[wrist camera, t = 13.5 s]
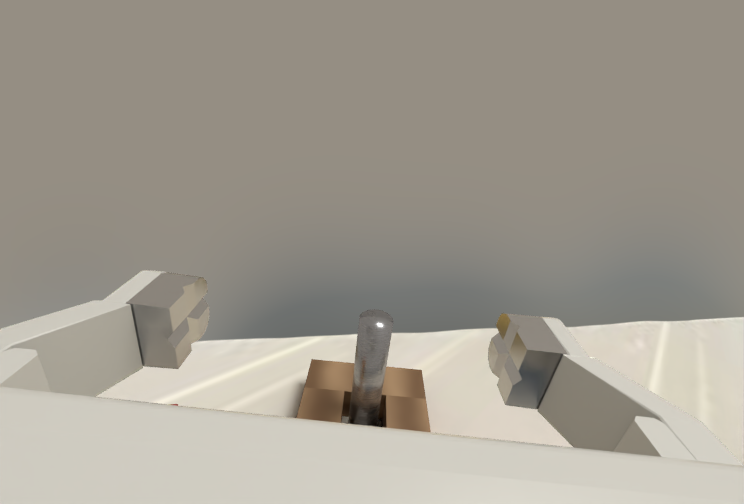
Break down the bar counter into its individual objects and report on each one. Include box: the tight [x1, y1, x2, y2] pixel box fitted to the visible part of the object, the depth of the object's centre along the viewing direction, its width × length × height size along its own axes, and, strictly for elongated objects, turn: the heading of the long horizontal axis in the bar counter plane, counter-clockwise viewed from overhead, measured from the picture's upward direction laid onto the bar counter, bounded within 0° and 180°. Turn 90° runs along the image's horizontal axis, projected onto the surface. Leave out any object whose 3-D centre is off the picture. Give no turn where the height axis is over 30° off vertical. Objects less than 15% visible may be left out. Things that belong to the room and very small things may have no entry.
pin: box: [348, 310, 393, 427], centre depth 36 cm, size 3×3×16 cm
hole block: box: [297, 359, 430, 432], centre depth 39 cm, size 14×14×4 cm
